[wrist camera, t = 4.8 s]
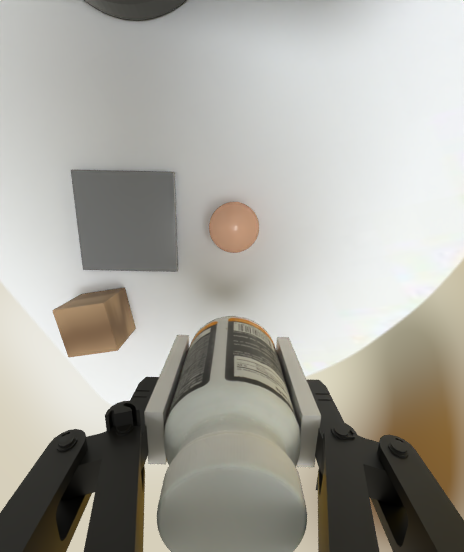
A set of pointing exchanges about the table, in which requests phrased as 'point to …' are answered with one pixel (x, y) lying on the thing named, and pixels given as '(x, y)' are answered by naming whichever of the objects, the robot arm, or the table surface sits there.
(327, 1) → the table surface
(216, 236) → the peach dome knob
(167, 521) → the pill bottle
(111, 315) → the walnut block
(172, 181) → the coaster
